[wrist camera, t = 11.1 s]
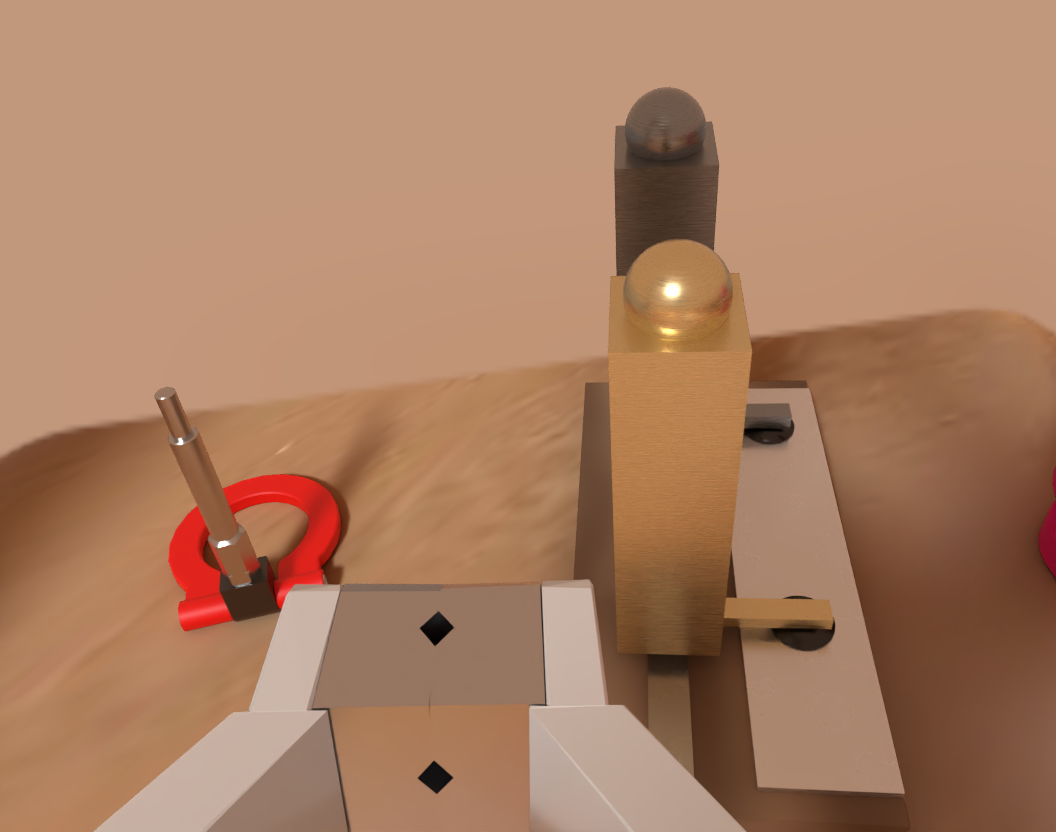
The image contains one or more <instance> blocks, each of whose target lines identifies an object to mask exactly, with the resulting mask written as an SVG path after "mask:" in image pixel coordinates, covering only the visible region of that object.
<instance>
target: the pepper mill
mask: <svg viewBox="0 0 1056 832" xmlns="http://www.w3.org/2000/svg"><path fill="white" fill-rule="evenodd" d="M1052 484H1053V489H1054V495H1055V498H1056V466H1055V469H1054V473H1053V483H1052ZM1039 548H1040V552H1041V555H1042V557H1043V560H1044V561H1045V563H1046V564H1047V566H1048V568H1049V569H1050V570H1051V572H1052V573H1053V575H1054V576H1055V577H1056V500H1055V501H1054V503H1053V504H1052V506H1051V508H1050V510H1049V512H1048V514H1047V517H1046V519H1045V521H1044V523H1043V525H1042V528H1041V530H1040V533H1039Z"/></svg>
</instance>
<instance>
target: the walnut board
mask: <svg viewBox="0 0 1056 832" xmlns="http://www.w3.org/2000/svg"><path fill="white" fill-rule="evenodd" d="M772 388H808V387H807V383H806V381H749V386H748V389H772ZM586 579H589V580H590V582H591V583H592V584H593V587H594V594H595V602H596V610H597V618H598V625H599V633H600V641H601V649H602V657H603V664H604V672H605V680H606V688H607V696H608V703H609V705H625V706H626V707H627V708H628V709H629V710H630V711H631V712H632V713H633V714H634V716H635V717H636V718H637V719H638V720H639V721H640V722H641V723H642V724H643V725H644V726H645V727H646V728H647V729H648V730H649V723H648V660H647V654H634V653H617V627H616V593H615V560H614V527H613V494H612V460H611V427H610V394H609V383H586V384H585V401H584V417H583V434H582V450H581V467H580V483H579V500H578V516H577V532H576V549H575V565H574V580H586ZM726 598H736V593H735V584H734V575H733V565H732V556H730V565H729V574H728V584H727V593H726ZM687 656H688V674H689V693H690V711H691V729H692V747H693V765H694V778H695V779H696V780H697V781H698V782H699V783H700V784H701V785H702V786H703V787H704V788H705V789H706V790H707V791H708V792H709V793H710V794H711V795H712V796H713V797H714V798H715V799H716V800H717V801H718V802H719V804H720V805H721V806H722V807H723V808H724V809H725V810H726V811H727V812H728V813H729V814H730V815H731V816H732V817H733V818H734V819H735V820H736V821H737V822H738V823H739V824H740V825H741V826H742V827H743V828H744V829H745V830H746V831H747V832H908V830H909V828H910V824H909V819H908V815H907V811H906V807H905V802H904V798H900V797H878V796H856V795H834V794H813V793H791V792H769V791H757V786H756V777H755V768H754V759H753V749H752V740H751V731H750V722H749V713H748V703H747V694H746V685H745V676H744V667H743V657H742V648H741V639H740V630H739V627H723V631H722V640H721V650H720V656H707V655H687Z"/></svg>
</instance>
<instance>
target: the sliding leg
mask: <svg viewBox="0 0 1056 832" xmlns="http://www.w3.org/2000/svg"><path fill="white" fill-rule="evenodd" d="M610 284H611V285H610V315H609V347H608V348H609V349H608V360H609V394H610V427H611V460H612V494H613V527H614V560H615V593H616V627H617V653H634V654H670V655H707V656H720V650H721V640H722V631H723V627H754V628H796V629H832V625H833V621H834V620H833V615H832V610H831V605H830V600H819V599H769V598H726V593H727V584H728V574H729V565H730V556H731V546H732V537H733V527H734V518H735V508H736V499H737V489H738V480H739V471H740V461H741V452H742V442H743V433H744V423H745V414H746V405H747V395H748V386H749V376H750V367H751V357H752V347H751V341H750V335H749V329H748V323H747V317H746V311H745V306H744V300H743V294H742V288H741V282H740V276H739V273H731V274H730V273H729V271H728V269H727V267H726V265H725V263H724V262H723V261H722V259H721V258H720V257H719V256H718V255H717V254H716V253H715V252H714V251H713V250H712V249H710V248H709V247H707V246H705V245H703V244H701V243H699V242H695V241H692V240H687V239H671V240H666V241H663V242H660V243H657V244H655V245H653V246H651V247H649V248H648V249H646V250H645V251H644V252H643V253H642V254H640V255H639V256H638V257H637V259H636V260H635V261H634V262H633V264H632V265H631V267H630V269H629V270H628V273H627V275H626V276H611V283H610Z"/></svg>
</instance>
